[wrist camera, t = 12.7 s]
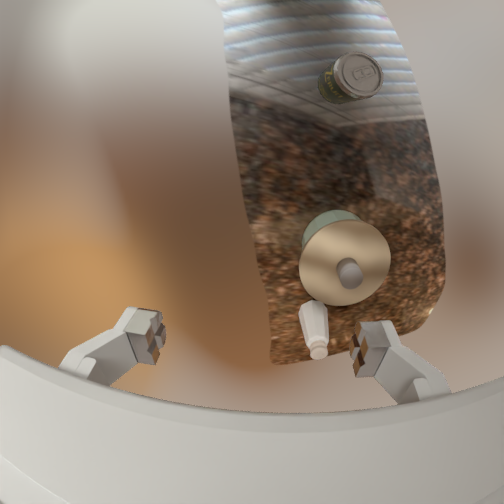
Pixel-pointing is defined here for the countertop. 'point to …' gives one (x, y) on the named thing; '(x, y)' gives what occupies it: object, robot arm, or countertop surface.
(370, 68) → the beer can
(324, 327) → the pepper shaker
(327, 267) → the lid
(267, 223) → the countertop surface
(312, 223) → the pale green pot
